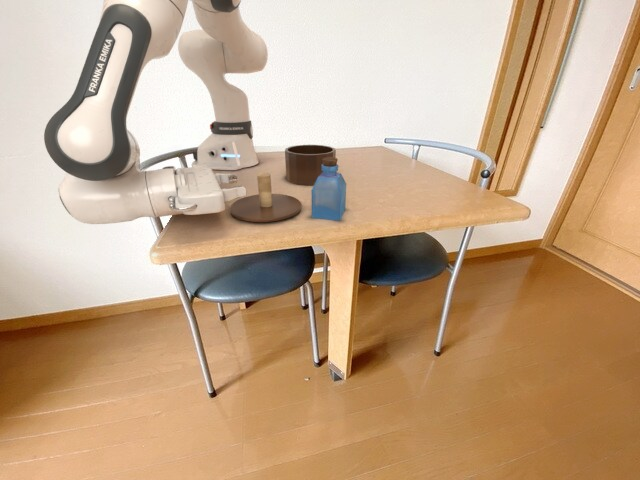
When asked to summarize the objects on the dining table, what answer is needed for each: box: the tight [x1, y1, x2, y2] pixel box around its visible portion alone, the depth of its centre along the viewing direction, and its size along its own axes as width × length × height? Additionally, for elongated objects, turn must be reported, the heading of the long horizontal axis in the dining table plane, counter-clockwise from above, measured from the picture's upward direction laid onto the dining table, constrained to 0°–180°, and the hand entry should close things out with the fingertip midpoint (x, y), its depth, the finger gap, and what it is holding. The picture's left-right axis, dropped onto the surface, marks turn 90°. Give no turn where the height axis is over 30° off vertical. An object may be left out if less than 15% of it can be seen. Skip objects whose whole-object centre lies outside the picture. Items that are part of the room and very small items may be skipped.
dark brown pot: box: [284, 144, 337, 186], centre depth 88 cm, size 15×15×8 cm
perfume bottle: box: [311, 157, 347, 222], centre depth 63 cm, size 6×6×12 cm
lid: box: [229, 172, 302, 223], centre depth 65 cm, size 16×16×8 cm
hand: (240, 184), depth 62 cm, fingers open, 8 cm apart
